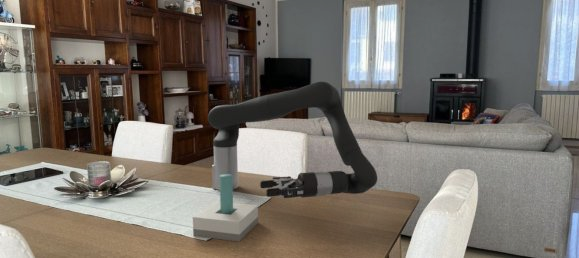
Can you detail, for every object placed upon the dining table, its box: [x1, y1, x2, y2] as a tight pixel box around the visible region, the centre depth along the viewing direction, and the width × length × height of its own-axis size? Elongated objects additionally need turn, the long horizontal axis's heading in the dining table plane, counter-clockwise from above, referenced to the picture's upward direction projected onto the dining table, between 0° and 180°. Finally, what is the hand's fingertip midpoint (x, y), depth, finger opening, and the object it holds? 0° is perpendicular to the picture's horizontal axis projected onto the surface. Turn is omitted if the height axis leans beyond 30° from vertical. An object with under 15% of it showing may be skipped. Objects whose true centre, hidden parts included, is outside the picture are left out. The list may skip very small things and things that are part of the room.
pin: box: [219, 174, 234, 215], centre depth 112 cm, size 4×4×14 cm
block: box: [192, 201, 259, 242], centre depth 113 cm, size 14×14×6 cm
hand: (263, 188), depth 115 cm, fingers open, 8 cm apart
